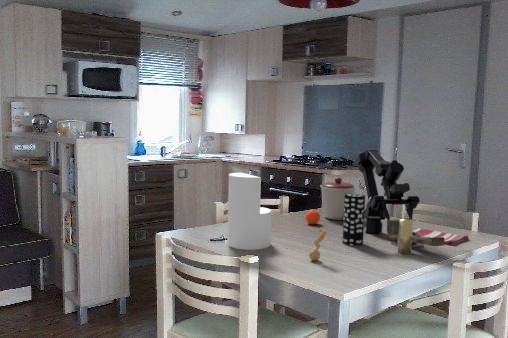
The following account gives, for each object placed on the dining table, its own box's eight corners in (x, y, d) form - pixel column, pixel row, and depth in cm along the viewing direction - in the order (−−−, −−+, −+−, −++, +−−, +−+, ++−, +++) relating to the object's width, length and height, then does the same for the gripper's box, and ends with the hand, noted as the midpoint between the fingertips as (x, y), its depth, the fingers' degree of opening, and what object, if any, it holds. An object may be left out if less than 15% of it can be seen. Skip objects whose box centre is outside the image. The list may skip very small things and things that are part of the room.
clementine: (301, 224, 247) (301, 210, 246) (305, 222, 253) (306, 207, 253) (317, 226, 244) (318, 211, 243) (321, 223, 251) (322, 209, 250)
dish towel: (453, 247, 212) (454, 241, 212) (400, 237, 228) (400, 231, 228) (468, 240, 225) (469, 234, 224) (417, 231, 240) (418, 225, 240)
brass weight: (397, 253, 199) (398, 220, 197) (398, 250, 203) (400, 217, 202) (410, 254, 197) (412, 221, 195) (411, 251, 201) (413, 218, 200)
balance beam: (387, 236, 220) (386, 219, 220) (396, 235, 222) (396, 219, 222) (433, 246, 193) (433, 227, 193) (444, 245, 195) (444, 226, 195)
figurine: (313, 257, 191) (314, 225, 190) (329, 259, 188) (330, 227, 187) (304, 262, 184) (306, 229, 182) (320, 265, 181) (322, 231, 179)
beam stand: (390, 243, 213) (391, 231, 213) (411, 242, 217) (411, 230, 216) (403, 248, 206) (403, 235, 205) (423, 246, 209) (424, 234, 209)
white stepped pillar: (239, 251, 196) (240, 178, 193) (220, 241, 212) (221, 173, 209) (278, 247, 204) (280, 176, 201) (258, 237, 219) (259, 171, 217)
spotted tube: (364, 242, 216) (366, 194, 213) (361, 246, 208) (363, 197, 206) (344, 240, 218) (346, 193, 216) (340, 244, 210) (342, 195, 208)
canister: (315, 214, 273) (316, 175, 270) (348, 214, 275) (350, 175, 272) (323, 221, 255) (325, 179, 252) (359, 221, 257) (361, 179, 254)
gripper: (374, 175, 207) (383, 207, 197) (419, 176, 209) (430, 207, 199) (367, 192, 215) (375, 224, 205) (410, 192, 218) (420, 223, 208)
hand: (400, 219), depth 204 cm, fingers open, 9 cm apart
